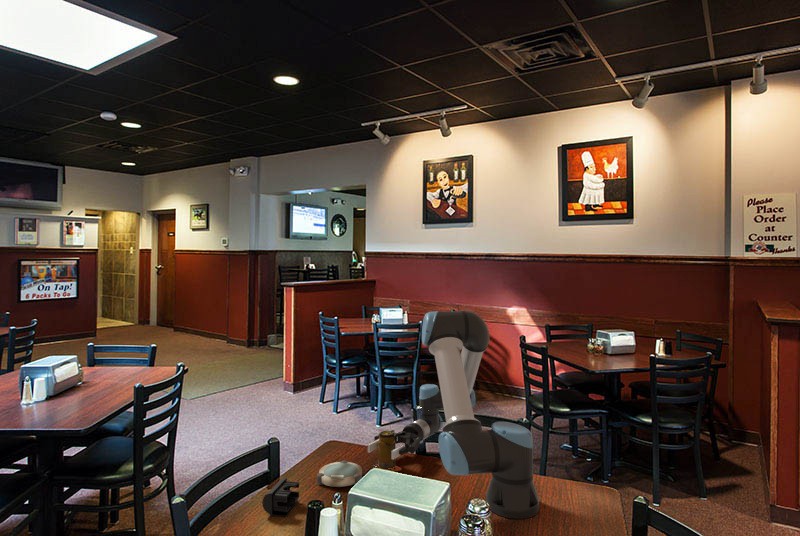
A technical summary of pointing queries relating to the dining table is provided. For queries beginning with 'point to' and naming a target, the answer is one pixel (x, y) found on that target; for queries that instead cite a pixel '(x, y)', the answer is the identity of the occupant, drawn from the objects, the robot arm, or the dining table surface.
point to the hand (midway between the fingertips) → (380, 452)
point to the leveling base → (339, 474)
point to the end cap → (281, 498)
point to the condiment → (386, 449)
